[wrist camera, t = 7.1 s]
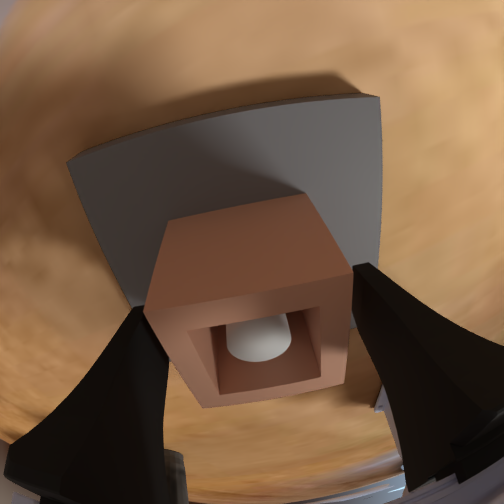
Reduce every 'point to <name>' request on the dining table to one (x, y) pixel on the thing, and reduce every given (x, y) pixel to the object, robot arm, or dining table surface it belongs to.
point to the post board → (237, 186)
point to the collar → (252, 299)
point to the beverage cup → (176, 477)
